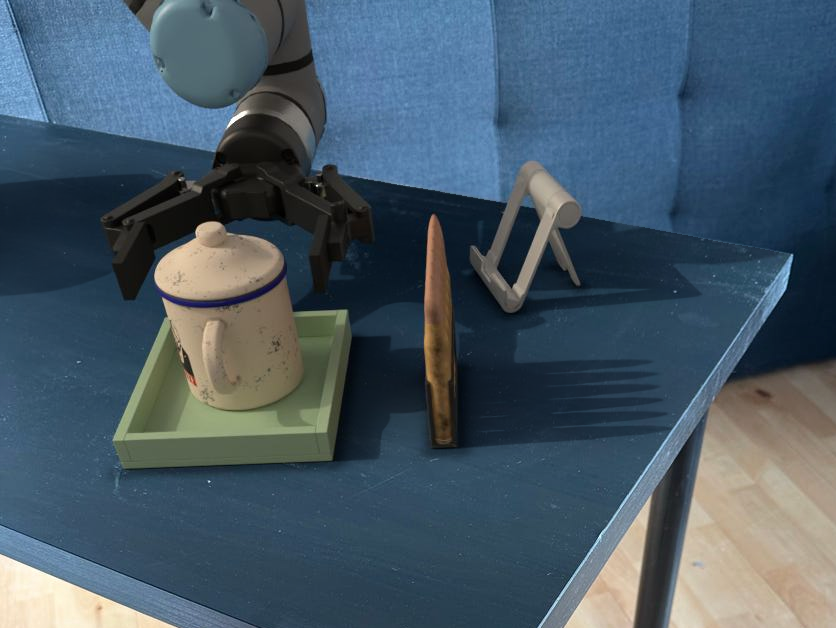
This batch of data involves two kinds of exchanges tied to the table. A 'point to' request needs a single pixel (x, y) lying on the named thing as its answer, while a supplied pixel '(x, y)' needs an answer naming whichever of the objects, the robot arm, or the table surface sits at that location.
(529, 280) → the tablet stand
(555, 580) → the table surface
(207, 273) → the teacup with lid
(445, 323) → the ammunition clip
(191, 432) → the tray
